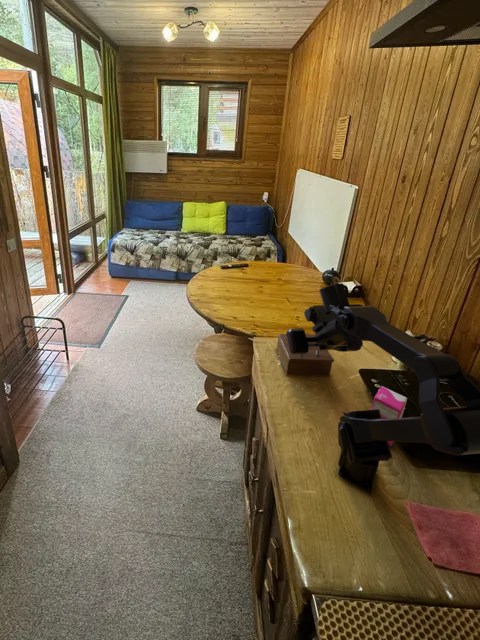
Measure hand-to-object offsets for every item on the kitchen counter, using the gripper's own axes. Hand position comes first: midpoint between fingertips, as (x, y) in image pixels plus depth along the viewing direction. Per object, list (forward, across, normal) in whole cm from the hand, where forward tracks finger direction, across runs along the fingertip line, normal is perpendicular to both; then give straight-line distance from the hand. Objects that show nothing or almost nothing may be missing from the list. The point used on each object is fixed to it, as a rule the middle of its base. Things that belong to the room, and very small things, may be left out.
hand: (310, 347), depth 88 cm
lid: (+13, -4, -2) cm, 14 cm away
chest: (+18, -4, +1) cm, 18 cm away
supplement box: (-1, -12, +22) cm, 26 cm away
